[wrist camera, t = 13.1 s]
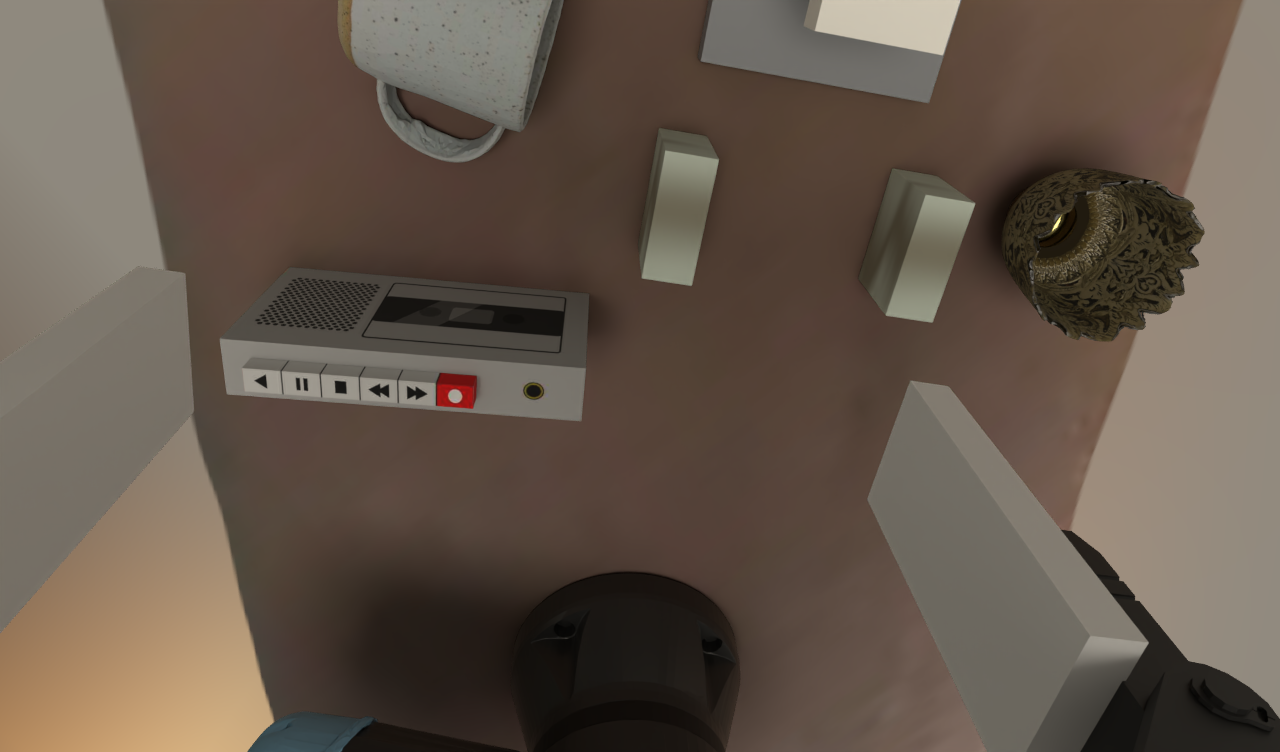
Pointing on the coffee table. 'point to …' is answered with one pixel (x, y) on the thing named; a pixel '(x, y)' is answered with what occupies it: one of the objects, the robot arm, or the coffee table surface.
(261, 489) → the coffee table surface
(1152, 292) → the cup
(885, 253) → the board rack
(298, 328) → the cassette player
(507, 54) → the ceramic mug
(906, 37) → the shelf board
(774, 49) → the peg stand
